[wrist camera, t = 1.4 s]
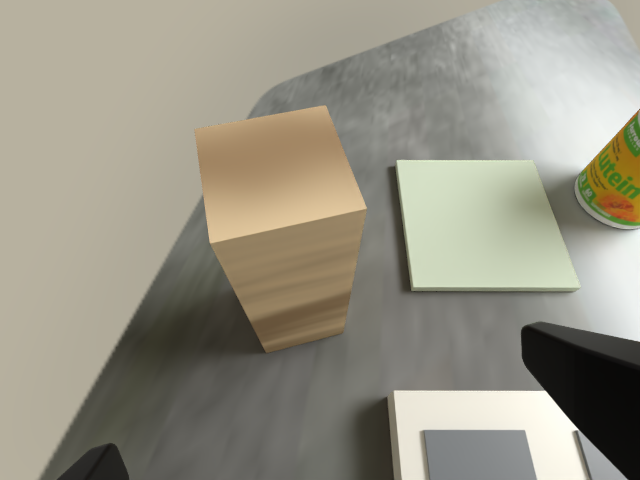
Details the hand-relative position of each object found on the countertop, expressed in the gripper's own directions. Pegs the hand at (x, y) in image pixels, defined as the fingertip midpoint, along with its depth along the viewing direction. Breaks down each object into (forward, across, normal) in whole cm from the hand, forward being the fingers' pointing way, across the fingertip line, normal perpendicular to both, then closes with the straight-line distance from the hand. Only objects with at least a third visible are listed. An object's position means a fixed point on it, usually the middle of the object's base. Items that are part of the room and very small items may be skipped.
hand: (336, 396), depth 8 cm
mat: (+16, -13, +2) cm, 21 cm away
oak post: (+14, 0, +4) cm, 15 cm away
